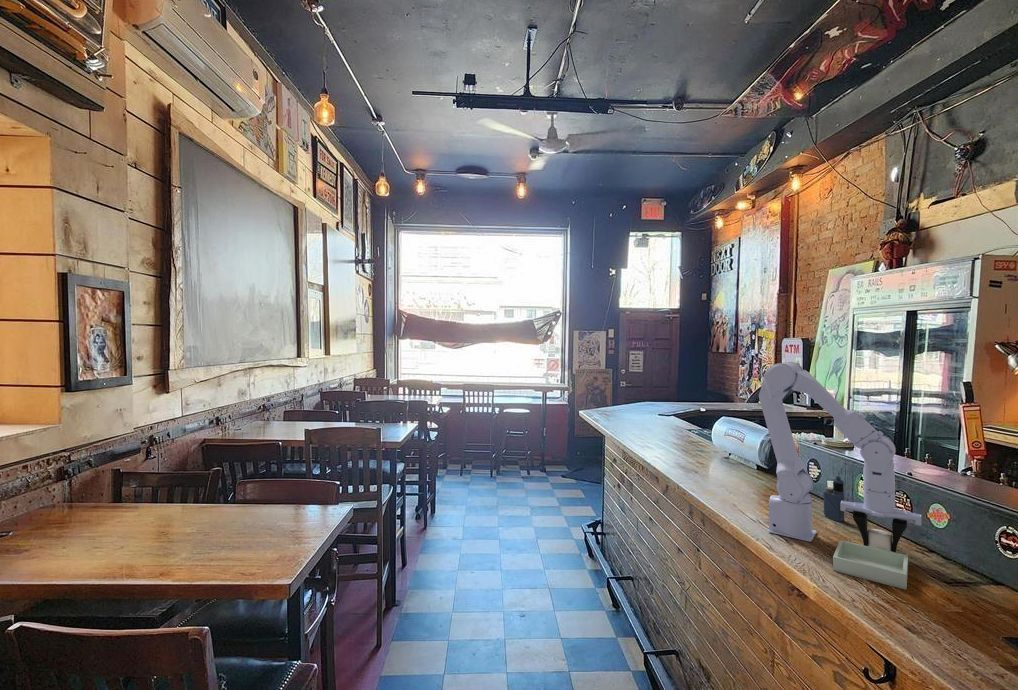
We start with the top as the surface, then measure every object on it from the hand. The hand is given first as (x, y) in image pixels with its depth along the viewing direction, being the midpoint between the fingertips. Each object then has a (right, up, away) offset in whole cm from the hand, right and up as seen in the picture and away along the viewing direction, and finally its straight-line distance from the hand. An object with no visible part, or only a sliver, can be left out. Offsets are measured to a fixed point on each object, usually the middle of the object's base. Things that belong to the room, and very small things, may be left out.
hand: (879, 548), depth 106 cm
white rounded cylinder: (0, -1, 0) cm, 1 cm away
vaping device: (+5, -2, +21) cm, 22 cm away
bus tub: (-8, -2, -7) cm, 11 cm away
